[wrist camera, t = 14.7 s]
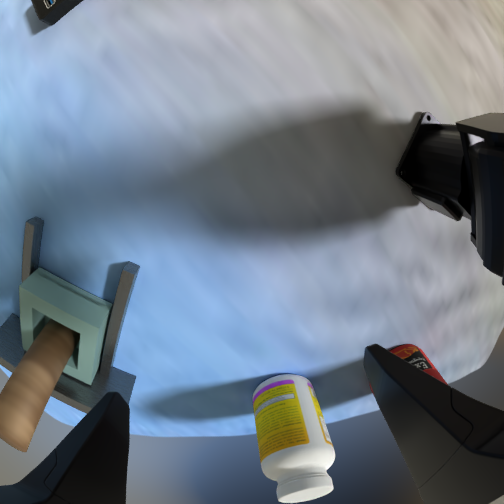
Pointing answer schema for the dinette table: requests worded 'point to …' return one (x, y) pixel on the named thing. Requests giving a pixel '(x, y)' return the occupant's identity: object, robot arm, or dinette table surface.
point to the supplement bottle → (293, 438)
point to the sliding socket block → (65, 319)
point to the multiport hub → (53, 9)
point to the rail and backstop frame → (107, 377)
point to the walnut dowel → (34, 383)
